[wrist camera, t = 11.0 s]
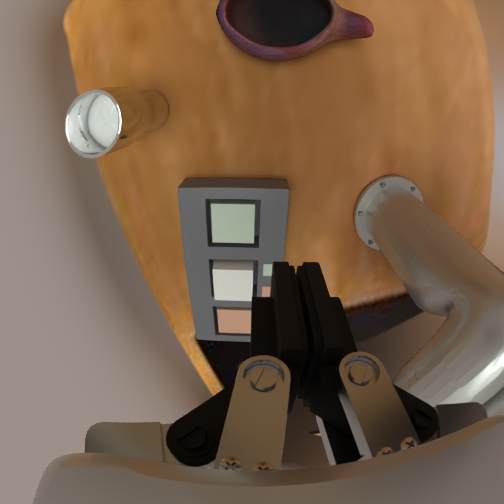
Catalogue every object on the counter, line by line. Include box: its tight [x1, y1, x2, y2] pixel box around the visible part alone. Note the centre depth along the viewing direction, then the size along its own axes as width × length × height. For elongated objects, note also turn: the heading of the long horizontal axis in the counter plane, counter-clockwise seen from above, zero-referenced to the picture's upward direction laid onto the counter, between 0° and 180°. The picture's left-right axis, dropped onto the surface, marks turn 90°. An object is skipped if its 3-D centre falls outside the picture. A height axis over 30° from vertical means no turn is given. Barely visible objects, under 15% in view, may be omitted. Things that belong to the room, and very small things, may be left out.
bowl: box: [216, 0, 374, 60], centre depth 22 cm, size 16×13×8 cm
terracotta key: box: [217, 307, 251, 334], centre depth 47 cm, size 6×6×3 cm
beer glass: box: [65, 87, 169, 158], centre depth 26 cm, size 7×7×15 cm
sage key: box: [211, 199, 255, 243], centre depth 37 cm, size 6×6×3 cm
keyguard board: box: [178, 178, 290, 342], centre depth 43 cm, size 14×28×5 cm, turn 179°
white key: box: [212, 259, 253, 301], centre depth 41 cm, size 6×6×3 cm
